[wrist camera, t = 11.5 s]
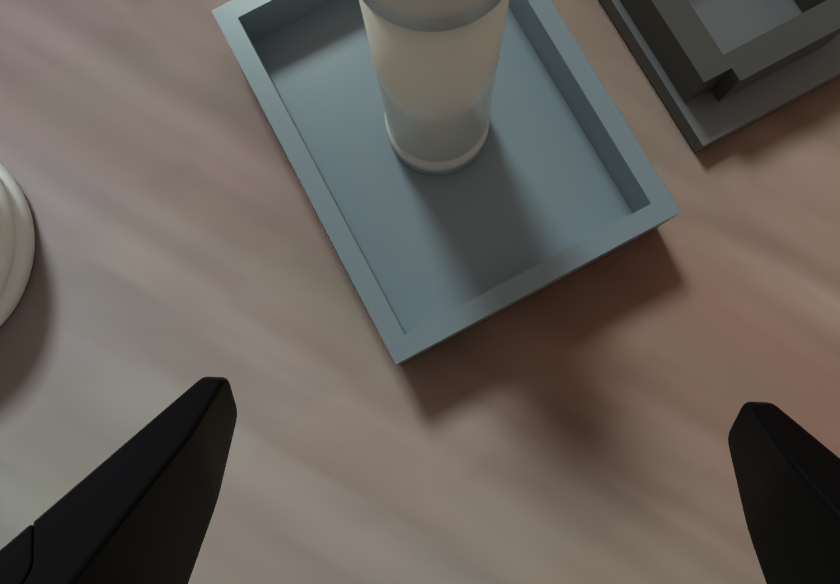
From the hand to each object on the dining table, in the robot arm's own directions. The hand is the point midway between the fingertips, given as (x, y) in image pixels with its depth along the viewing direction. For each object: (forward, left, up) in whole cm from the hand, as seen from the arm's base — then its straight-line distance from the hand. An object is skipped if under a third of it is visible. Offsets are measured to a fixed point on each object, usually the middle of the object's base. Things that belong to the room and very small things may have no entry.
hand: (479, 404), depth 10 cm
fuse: (+10, -4, -13) cm, 17 cm away
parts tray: (+10, -4, -14) cm, 17 cm away
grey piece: (+9, -17, -14) cm, 24 cm away
